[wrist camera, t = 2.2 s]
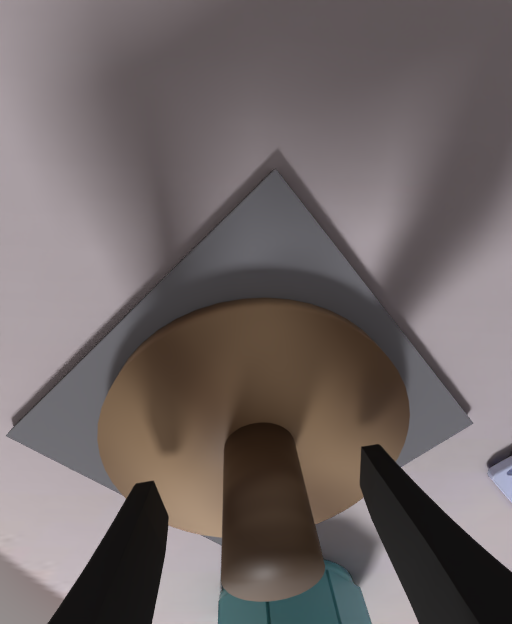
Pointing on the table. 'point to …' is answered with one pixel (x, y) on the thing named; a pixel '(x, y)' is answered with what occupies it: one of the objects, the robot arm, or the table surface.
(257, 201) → the mat
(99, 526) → the table surface
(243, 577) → the lid
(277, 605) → the bowl
